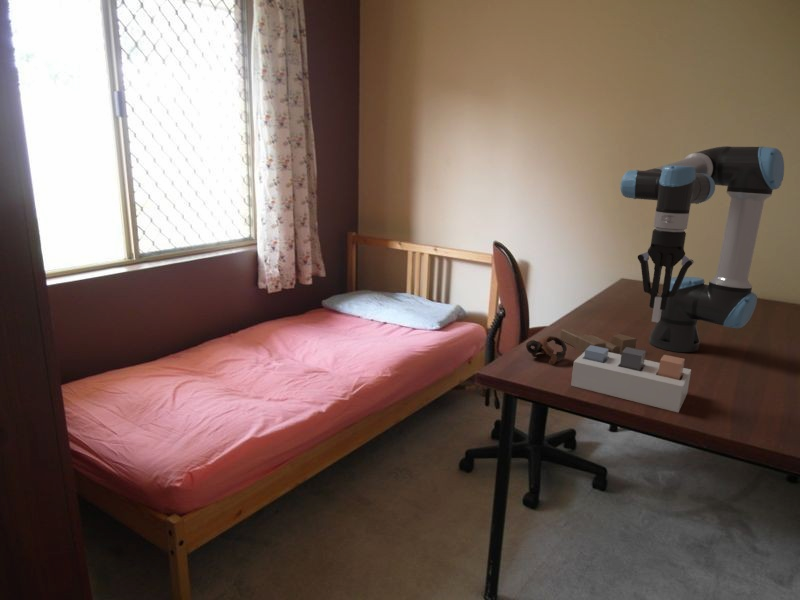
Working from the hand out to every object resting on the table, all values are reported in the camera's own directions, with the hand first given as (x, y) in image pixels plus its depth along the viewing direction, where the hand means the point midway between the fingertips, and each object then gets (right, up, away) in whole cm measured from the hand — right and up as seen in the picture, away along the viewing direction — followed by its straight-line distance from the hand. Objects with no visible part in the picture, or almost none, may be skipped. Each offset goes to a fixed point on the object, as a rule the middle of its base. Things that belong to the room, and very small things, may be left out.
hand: (655, 320), depth 147 cm
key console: (-4, -19, +8) cm, 21 cm away
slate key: (-12, -13, +11) cm, 21 cm away
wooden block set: (-1, -11, +42) cm, 43 cm away
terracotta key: (+4, -15, +1) cm, 15 cm away
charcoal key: (-4, -13, +6) cm, 15 cm away
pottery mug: (-21, -13, +29) cm, 38 cm away
